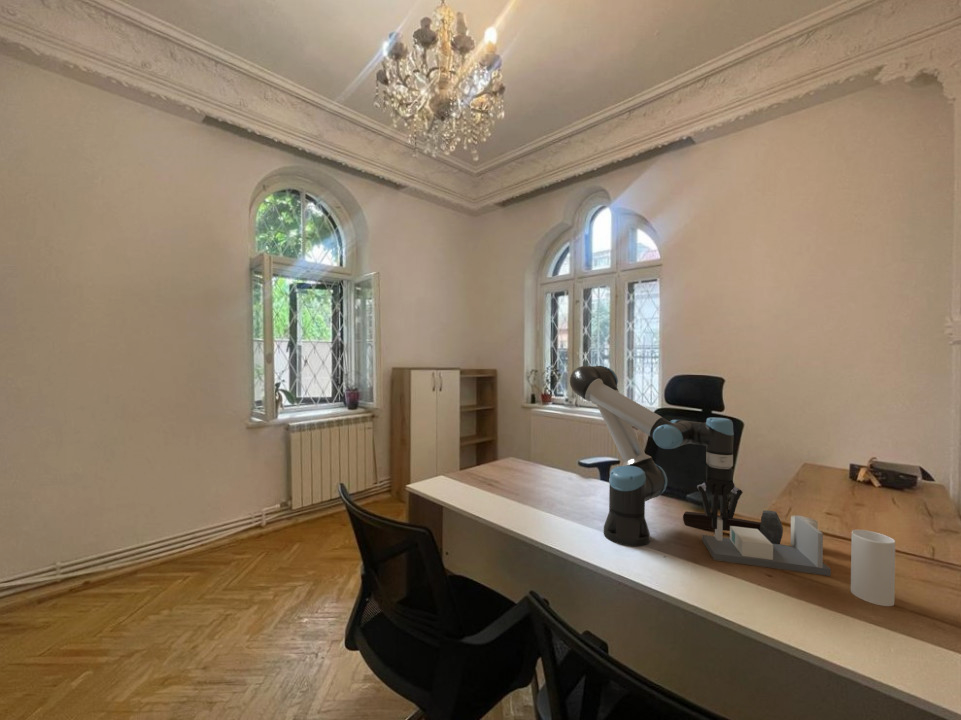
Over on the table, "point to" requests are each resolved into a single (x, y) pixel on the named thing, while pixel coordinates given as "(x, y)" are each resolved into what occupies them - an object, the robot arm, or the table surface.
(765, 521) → the hammer
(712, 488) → the robot arm
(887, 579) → the cup
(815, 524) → the cream white shapes
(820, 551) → the grey base with uprights
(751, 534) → the carton
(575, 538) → the table surface
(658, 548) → the table surface
